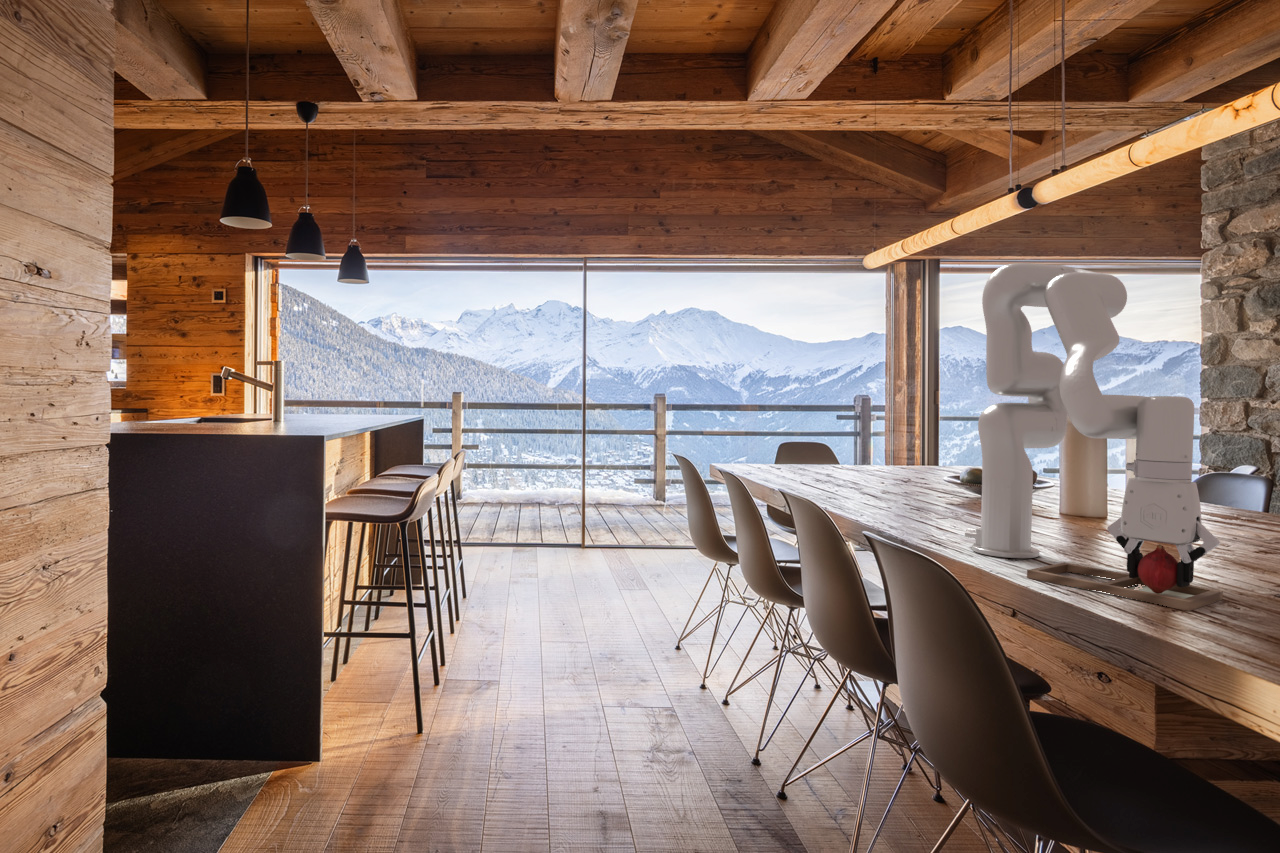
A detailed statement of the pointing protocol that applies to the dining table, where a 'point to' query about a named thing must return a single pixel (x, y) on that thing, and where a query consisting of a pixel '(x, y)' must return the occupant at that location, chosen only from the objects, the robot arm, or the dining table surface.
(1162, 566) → the onion
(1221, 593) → the rail frame
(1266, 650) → the dining table surface
